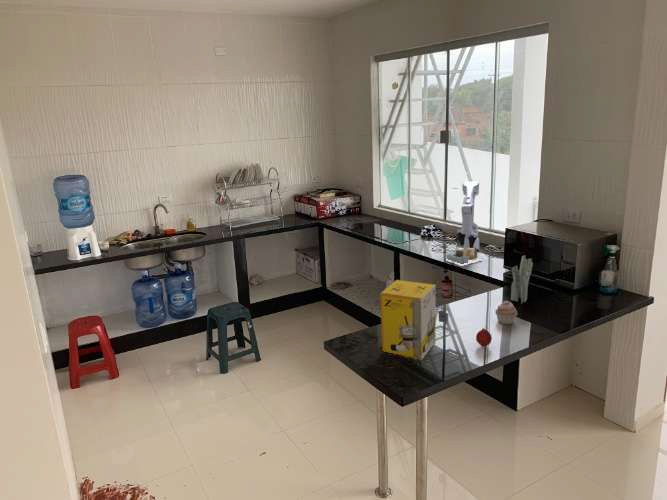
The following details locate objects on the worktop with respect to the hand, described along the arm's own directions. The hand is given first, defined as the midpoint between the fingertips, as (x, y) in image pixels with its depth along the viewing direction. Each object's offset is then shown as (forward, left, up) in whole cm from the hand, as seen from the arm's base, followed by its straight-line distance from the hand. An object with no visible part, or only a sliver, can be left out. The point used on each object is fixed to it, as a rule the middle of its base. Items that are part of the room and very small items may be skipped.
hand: (466, 246), depth 299 cm
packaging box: (+96, +70, -9) cm, 119 cm away
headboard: (+3, 0, -9) cm, 9 cm away
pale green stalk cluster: (+24, +61, -9) cm, 66 cm away
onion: (+72, +86, -9) cm, 112 cm away
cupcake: (+48, +75, -9) cm, 89 cm away
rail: (0, 0, -8) cm, 8 cm away
